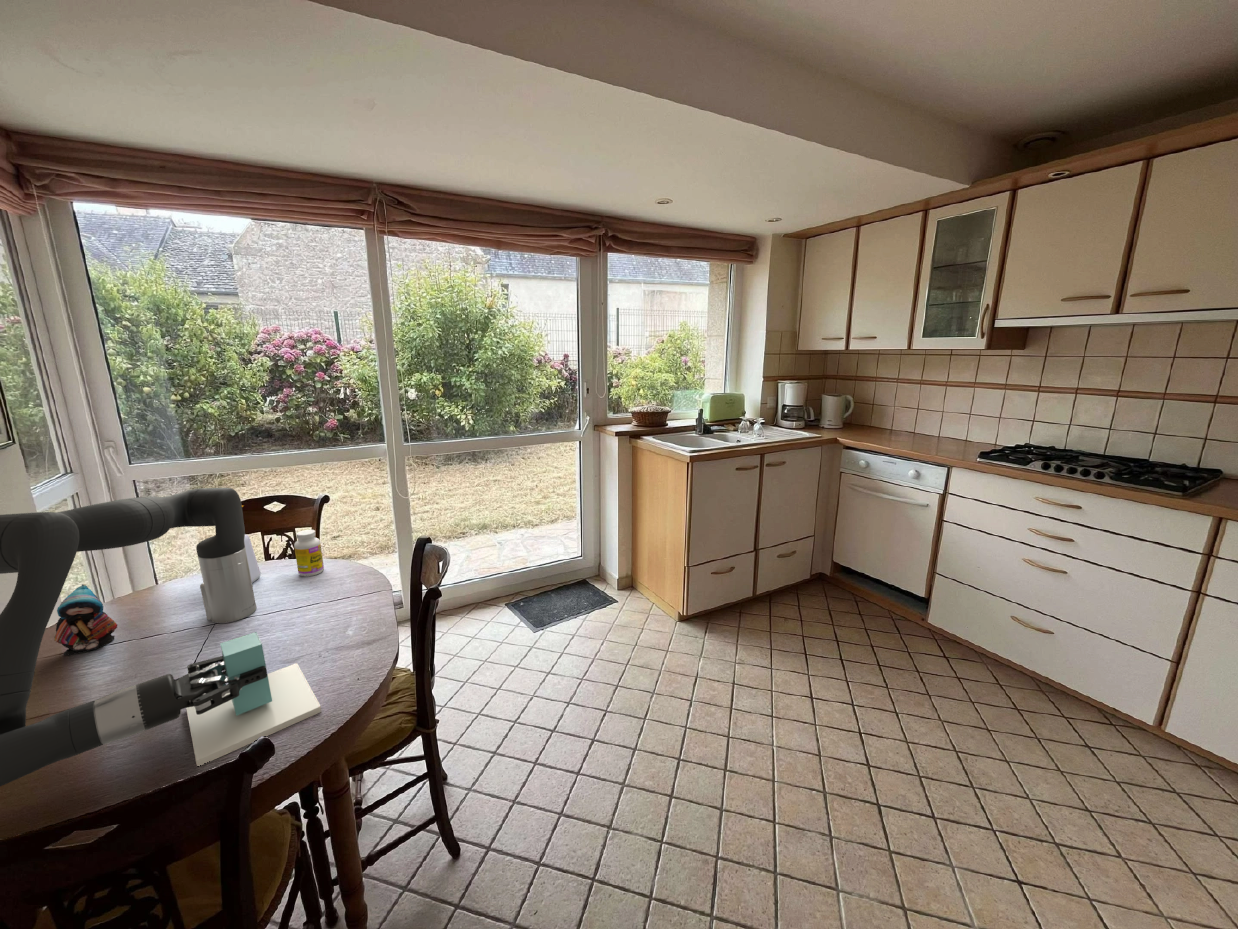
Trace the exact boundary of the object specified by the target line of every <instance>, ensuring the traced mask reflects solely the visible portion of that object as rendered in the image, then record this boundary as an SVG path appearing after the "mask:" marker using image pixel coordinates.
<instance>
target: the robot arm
mask: <svg viewBox="0 0 1238 929" xmlns="http://www.w3.org/2000/svg"><path fill="white" fill-rule="evenodd" d="M244 523H245V521H244V513H243V507H242V500H241V497H240V495H239V493H238V492H237V490H235V489H234V488H232V487H203V488H193V489H188V490H186V491H182V492H178V493H175V494H171V495H167V496H140V497H139V496H138V497H130V498H122V499H117V500H116V499H115V500H112V501H111V500H110V501H105V502H101V503H100V502H99V503H96V504H90V505H85V506H81V507H77V508H76V507H75V508H72V509H68V510H63V511H58V512H57V511H54V512H53V511H42V512H40V511H39V512H23V513H22V512H21V513H6V514H0V574H1V575H2V574H14V573H15V574H16V573H17V578H16V582H15V586H14V589H13V592H12V595H11V596H10V599H9V600H8V602H7V603H6V605H5V606H4V608H3V610H2V611H1V613H0V787H2V786H5V785H7V784H9V783H11V782H14V781H15V780H18V779H20V778H22V777H25V776H27V775H29V774H32V773H34V772H36V771H39V770H40V769H42V768H45V767H47V766H49V765H51V764H54V763H57V762H60V761H63V760H67V759H69V758H73V757H75V756H78V755H80V754H83V753H86V752H88V751H91V750H93V749H95V748H99V747H101V746H103V745H107V744H110V743H115V742H117V741H120V740H125V739H127V738H129V737H132V736H135V735H137V734H140V733H143V732H146V731H147V730H150V729H153V728H155V727H158V726H160V725H164V724H166V723H168V722H171V721H174V720H177V719H179V718H180V716H181V714H182V711H181V710H183V709H186V708H188V707H193V706H194V707H195V709H196V714H197V715H200V714H203V713H205V712H207V711H209V710H211V709H213V708H215V707H217V706H219V705H221V704H223V703H225V702H228V701H230V700H232V699H234V698H236V697H238V696H239V695H240V694H239V691H240V690H241V689H242V687H243V686H245V685H248V684H251V683H253V682H256V681H259V680H261V679H264V678H266V677H267V674H268V670H266V669H267V666H266V667H265V666H261V667H258V668H255V669H253V670H250V671H247V672H244V673H242V674H240V675H235V676H232V677H227V675H226V670H225V665H224V660H223V655H221V656H216V657H213V658H208V659H205V660H202V661H201V660H200V661H198V662H193V663H190V664H188V665H187V666H186V669H187V673H186V674H183V675H182V676H181V677H178V678H176V679H174V676H173V674H171V673H168V674H164V675H161V676H158V677H156V678H152V679H150V680H147V681H143V682H141V683H138V684H134V685H132V686H129V687H126V688H123V689H120V690H117V691H114V692H112V693H108V694H107V695H105V696H103V697H100V698H98V699H95V700H92V701H89V702H85V703H82V704H80V705H77V706H74V707H70V708H69V709H66V710H63V711H59V712H57V713H55V714H53V715H50V716H49V717H47V718H45V719H43V720H41V721H40V720H39V721H38V722H35V723H31V724H28V725H27V724H26V722H27V705H28V703H29V702H28V701H29V698H30V695H31V692H32V691H31V690H32V686H33V682H34V681H33V680H34V676H35V671H36V665H37V660H38V656H39V652H40V647H41V644H42V640H43V638H44V634H45V632H46V629H47V626H48V624H49V621H50V619H51V616H52V614H53V611H54V609H55V607H56V604H57V602H58V600H59V598H60V595H61V592H62V590H63V588H64V585H65V582H66V580H67V578H68V576H69V573H70V571H71V568H72V566H73V563H74V561H75V559H76V555H77V552H78V553H79V552H89V551H90V552H91V551H103V550H111V549H119V548H124V547H131V546H135V545H139V544H142V543H146V542H150V541H153V540H157V539H158V538H161V537H163V536H164V535H166V533H168V532H169V531H170V529H177V528H185V527H186V528H187V527H191V528H192V527H194V528H195V527H198V528H199V527H215V529H214V530H216V532H215V535H212V536H209V537H207V538H205V539H203V540H201V541H199V542H198V543H197V544H196V547H195V550H196V554H197V559H198V563H199V564H198V565H199V568H200V572H201V577H202V583H201V584H200V585H199V587H200V588H199V589H200V592H201V596H202V597H201V598H202V602H203V605H204V611H205V616H206V620H208V621H211V622H212V623H215V624H226V623H227V624H228V623H233V622H236V621H240V620H242V619H246V618H247V617H249V616H251V615H252V614H254V612H256V610H257V603H256V599H255V598H256V597H255V592H254V588H253V583H252V581H251V576H250V570H249V565H248V560H247V555H246V549H245V544H244V537H245V534H246V533H245V532H246V530H245V529H246V528H245V524H244ZM230 682H231V683H230ZM228 683H229V684H228ZM226 693H230V694H228V695H226V696H224V695H225V694H226ZM223 696H224V697H223Z"/></svg>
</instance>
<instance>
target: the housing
mask: <svg viewBox="0 0 1238 929" xmlns="http://www.w3.org/2000/svg"><path fill="white" fill-rule="evenodd" d="M219 645H220V649H221V656H223V660H224V665H225V670H226V675H227V676H226V677H232V676H235V675H240V674H242V673H244V672H247V671H250V670H253V669H255V668H258V667H261V666H265V667H266V670H267V665H266V658H265V653H264V648H263V643H262V641H261V639H260V637H259V635H258V633H257V631H255V632H252V633H248V634H246V635H243V636H240V637H236V638H233V639H230V640H226V641H224V642H220V644H219ZM225 670H224V671H225ZM267 671H268V670H267ZM230 683H231V682H230ZM227 684H229V683H227ZM239 694H240V695H239V696H238V697H236V698H234V699H232V703H233V706H234V710H235V713H236V716H237V715H240V714H242V713H244V712H247V711H249V710H252V709H254V708H257V707H259V706H262V705H264V704H267V703H269V702H272V697H271V691H270V686H269V680H268V675H267V677H266V678H264V679H261V680H259V681H256V682H253V683H251V684H248V685H245V686H243V687H242V689H241V690H240V691H239Z"/></svg>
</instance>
